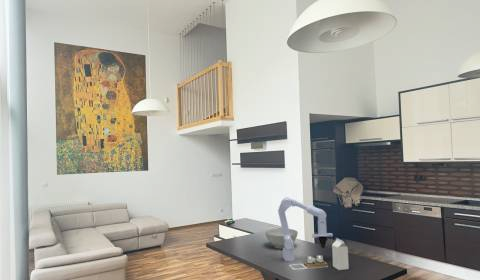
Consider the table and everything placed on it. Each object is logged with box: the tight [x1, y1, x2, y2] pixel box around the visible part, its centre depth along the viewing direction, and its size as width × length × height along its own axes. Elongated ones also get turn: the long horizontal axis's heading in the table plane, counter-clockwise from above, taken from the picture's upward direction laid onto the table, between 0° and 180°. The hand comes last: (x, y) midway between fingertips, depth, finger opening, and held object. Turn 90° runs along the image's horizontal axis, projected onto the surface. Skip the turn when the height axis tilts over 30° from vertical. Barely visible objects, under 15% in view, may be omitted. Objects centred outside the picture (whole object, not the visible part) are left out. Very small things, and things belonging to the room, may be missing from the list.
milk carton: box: [331, 237, 350, 271], centre depth 199 cm, size 7×7×19 cm
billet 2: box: [316, 254, 324, 264], centre depth 204 cm, size 4×4×6 cm
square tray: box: [288, 263, 308, 271], centre depth 202 cm, size 9×9×2 cm
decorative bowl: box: [264, 227, 299, 250], centre depth 255 cm, size 27×27×12 cm
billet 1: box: [306, 255, 314, 265], centre depth 202 cm, size 4×4×6 cm
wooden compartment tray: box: [303, 260, 329, 270], centre depth 203 cm, size 8×14×3 cm, turn 101°
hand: (323, 247), depth 214 cm, fingers closed
